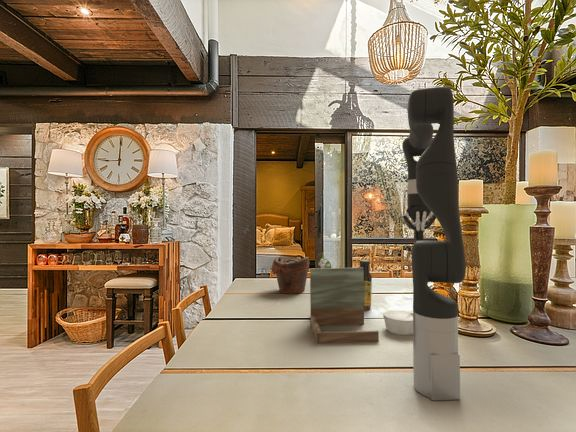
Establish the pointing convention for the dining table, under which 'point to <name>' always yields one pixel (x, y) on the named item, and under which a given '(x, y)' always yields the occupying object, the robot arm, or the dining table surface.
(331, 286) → the cold frame
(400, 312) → the ramekin
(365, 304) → the sauce bottle
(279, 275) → the brown flower pot
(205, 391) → the dining table surface
